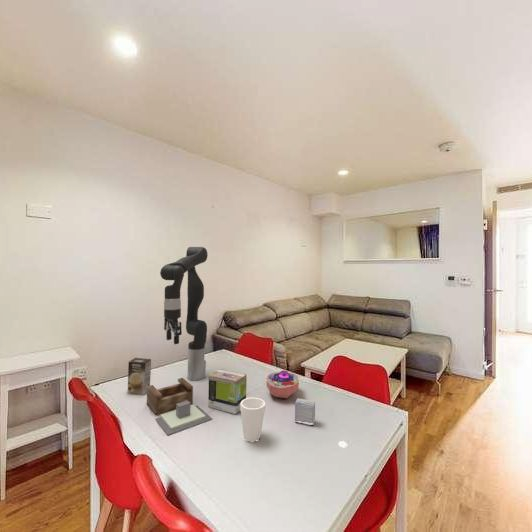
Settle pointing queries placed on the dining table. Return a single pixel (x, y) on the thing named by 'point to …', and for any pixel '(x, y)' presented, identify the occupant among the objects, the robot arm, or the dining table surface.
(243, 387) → the tea box
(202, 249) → the robot arm
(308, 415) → the medicine box
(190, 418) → the cover plate
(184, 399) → the walnut box
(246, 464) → the dining table surface
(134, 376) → the coffee box
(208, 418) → the rubber mat
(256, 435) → the foam cup
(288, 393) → the cell model
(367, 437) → the dining table surface
